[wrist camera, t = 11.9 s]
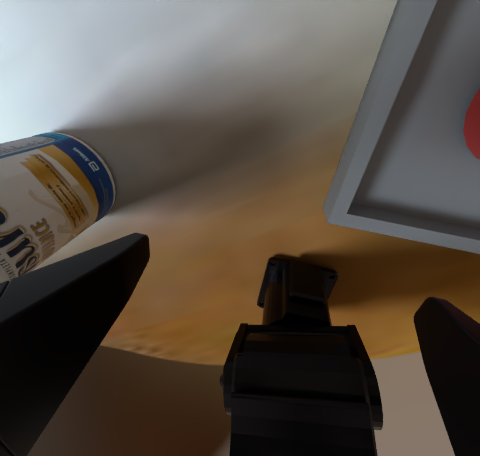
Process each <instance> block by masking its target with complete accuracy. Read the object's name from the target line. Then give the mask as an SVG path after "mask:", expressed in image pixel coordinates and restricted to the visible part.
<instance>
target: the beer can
mask: <svg viewBox="0 0 480 456" xmlns="http://www.w3.org/2000/svg"><path fill="white" fill-rule="evenodd" d="M463 133H464V137H465V141H466V145H467V148H468V149H469V150H470V151H471V152H472V154H473V155H474V156H475V157H476V158H477V159H480V89H479V90H478V91H477V93H476V94H475V95H474V97H473V99H472V102H471V104H470V106H469V108H468V110H467V112H466V115H465V121H464V128H463Z"/></svg>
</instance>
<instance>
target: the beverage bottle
mask: <svg viewBox="0 0 480 456" xmlns="http://www.w3.org/2000/svg"><path fill="white" fill-rule="evenodd" d="M114 201H115V184H114V180H113V177H112V175H111V172H110V170H109V169H108V167H107V165H106V164H105V162H104V161H103V159H102V158H101V157H100V156H99V155H98V154H97V153H96V152H95V151H94V150H93V149H92V148H91V147H90V146H88V145H87V144H86V143H84V142H82V141H81V140H79V139H77V138H75V137H73V136H70V135H67V134H63V133H56V132H50V133H44V134H39V135H35V136H32V137H28V138H24V139H19V140H15V141H10V142H6V143H1V144H0V283H2V282H4V281H7V280H8V281H10V280H11V279H13V278H15V277H18V276H21V275H23V274H26V273H29V272H30V271H32V270H33V269H34V268H36V267H37V266H38V265H39V264H41V263H42V262H43V261H45V260H46V259H47V258H49V257H50V256H51V255H53V254H54V253H55V252H57V251H58V250H59V249H61V248H62V247H63V246H64V245H66V244H67V243H68V242H70V241H71V240H72V239H74V238H75V237H76V236H78V235H79V234H80V233H82V232H83V231H84V230H86V229H87V228H88V227H90V226H91V225H92V224H94V223H95V222H97V221H98V220H100V219H101V218H103V217H104V216H105V215H106V214H107V213H108V212H109V211H110V210H111V208H112V206H113V204H114Z"/></svg>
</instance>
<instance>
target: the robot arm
mask: <svg viewBox="0 0 480 456" xmlns="http://www.w3.org/2000/svg"><path fill="white" fill-rule="evenodd" d="M149 258H150V249H149V238H148V236H147V235H145V234H140V233H133V234H130V235H128V236H125V237H122V238H120V239H117V240H114V241H112V242H109V243H106V244H104V245H101V246H98V247H95V248H93V249H90V250H87V251H85V252H82V253H79V254H77V255H74V256H71V257H69V258H66V259H63V260H61V261H58V262H55V263H53V264H50V265H47V266H45V267H42V268H39V269H37V270H34V271H31V272H29V273H26V274H23V275H21V276H18V277H15V278H13V279H11V280H10V281H8V280H7V281H4V282H2V283H0V456H27V455H28V453H29V452H30V450H31V449H32V447H33V446H34V444H35V443H36V441H37V440H38V438H39V437H40V435H41V434H42V432H43V430H44V429H45V427H46V426H47V424H48V423H49V421H50V420H51V418H52V417H53V415H54V414H55V412H56V411H57V409H58V408H59V406H60V405H61V403H62V402H63V400H64V399H65V397H66V395H67V394H68V392H69V391H70V389H71V388H72V386H73V385H74V383H75V382H76V380H77V378H78V377H79V376H80V374H81V373H82V371H83V370H84V368H85V366H86V365H87V363H88V362H89V360H90V359H91V357H92V356H93V354H94V352H95V351H96V350H97V348H98V347H99V345H100V344H101V342H102V341H103V339H104V337H105V336H106V334H107V333H108V331H109V330H110V328H111V327H112V325H113V324H114V322H115V321H116V319H117V318H118V316H119V315H120V313H121V312H122V310H123V308H124V307H125V305H126V304H127V302H128V300H129V299H130V297H131V295H132V293H133V291H134V289H135V287H136V285H137V283H138V281H139V279H140V277H141V275H142V273H143V271H144V269H145V267H146V265H147V263H148V261H149ZM271 262H275V263H274V264H273V263H271ZM330 275H334V276H330ZM337 278H338V275H337V272H336V271H335V270H331V269H327V268H322V267H318V266H314V265H309V264H304V263H300V262H295V261H289V260H285V259H280V258H275V257H271V258H269V260H268V263H267V267H266V270H265V274H264V278H263V282H262V286H261V289H260V293H259V297H258V301H257V305H258V306H259V307H261V308H264V311H263V321H262V325H248V324H247V323H241V324H240V327H239V330H238V332H237V333H236V335H235V338H234V341H233V343H232V346H231V349H230V351H229V354H228V357H227V359H226V362H225V365H224V369H223V373H222V375H221V376H220V386H221V388H222V389H223V391H224V406H225V410H226V413H227V414H228V415H231V442H230V443H231V444H230V456H377V449H376V442H375V435H374V430H381V429H382V426H383V412H382V403H381V398H380V391H379V387H378V382H377V378H376V375H375V371H374V369H373V366H372V363H371V361H370V358H369V356H368V354H367V352H366V349H365V347H364V345H363V342H362V340H361V338H360V335H359V333H358V331H357V329H356V326H355V325H347V326H332V324H331V319H330V313H329V308H328V303H327V299H328V297H329V295H330V293H331V291H332V289H333V287H334V285H335V283H336V281H337ZM261 302H262V303H261ZM414 324H415V328H416V332H417V337H418V341H419V345H420V349H421V353H422V358H423V362H424V365H425V369H426V372H427V376H428V379H429V382H430V384H431V387H432V390H433V393H434V396H435V399H436V402H437V404H438V407H439V410H440V413H441V416H442V419H443V422H444V425H445V428H446V431H447V433H448V436H449V439H450V442H451V445H452V448H453V451H454V454H455V456H480V324H479V323H478V322H476V321H475V320H473V319H472V318H471V317H469V316H468V315H466V314H465V313H464V312H462V311H461V310H459V309H458V308H457V307H455V306H454V305H452V304H451V303H450V302H448V301H447V300H445V299H441V298H436V297H428V298H427V299H426V300H425V301H424V302H423V304H422V305H421V306H420V308H419V309H418V310H417V311H416V313H415V315H414Z"/></svg>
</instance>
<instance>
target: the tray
mask: <svg viewBox="0 0 480 456" xmlns="http://www.w3.org/2000/svg"><path fill="white" fill-rule="evenodd" d="M479 89H480V0H398V1H397V4H396V6H395V9H394V12H393V15H392V18H391V20H390V23H389V26H388V29H387V31H386V34H385V37H384V40H383V42H382V45H381V48H380V51H379V53H378V56H377V59H376V62H375V65H374V67H373V70H372V73H371V76H370V78H369V81H368V84H367V87H366V89H365V92H364V95H363V98H362V101H361V103H360V106H359V109H358V112H357V114H356V117H355V120H354V123H353V125H352V128H351V131H350V134H349V136H348V139H347V142H346V145H345V148H344V150H343V153H342V156H341V159H340V161H339V164H338V167H337V170H336V172H335V175H334V178H333V181H332V183H331V186H330V189H329V192H328V195H327V197H326V200H325V203H324V206H323V209H324V212H325V215H326V219H327V222H328V223H330V224H335V225H340V226H345V227H350V228H355V229H360V230H365V231H369V232H374V233H379V234H384V235H389V236H394V237H399V238H404V239H409V240H414V241H418V242H423V243H428V244H433V245H438V246H443V247H448V248H453V249H458V250H462V251H467V252H472V253H477V254H480V159H477V158H476V157H475V156H474V155H473V154H472V152H471V151H470V150H469V149H468V148H467V145H466V141H465V137H464V133H463V128H464V121H465V115H466V112H467V110H468V108H469V106H470V104H471V102H472V99H473V97H474V95H475V94H476V93H477V91H478V90H479Z"/></svg>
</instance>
